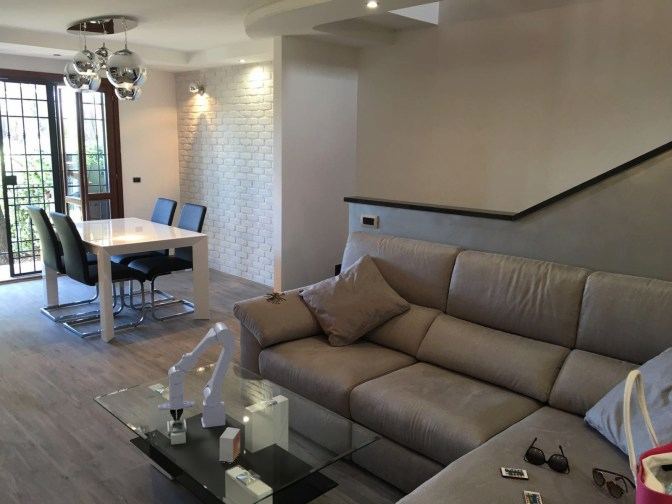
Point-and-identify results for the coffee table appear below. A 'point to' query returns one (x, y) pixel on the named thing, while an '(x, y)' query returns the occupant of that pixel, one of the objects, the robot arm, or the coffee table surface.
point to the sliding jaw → (176, 422)
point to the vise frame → (178, 435)
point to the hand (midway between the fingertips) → (176, 424)
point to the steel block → (177, 427)
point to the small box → (229, 444)
